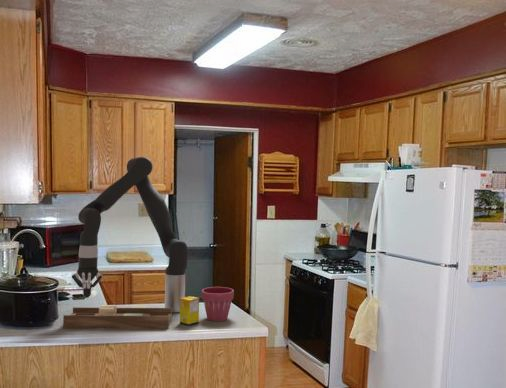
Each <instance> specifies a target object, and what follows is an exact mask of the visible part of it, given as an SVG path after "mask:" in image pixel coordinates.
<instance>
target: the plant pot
mask: <svg viewBox="0 0 506 388" xmlns="http://www.w3.org/2000/svg"><path fill="white" fill-rule="evenodd" d="M234 296H235V291H234V289H233V288H230V287H225V286H224V287H223V286H210V287H205V288H202V290H201V300H203V304H204V309H205V313H206V318H207V320H209V321H211V322H222V321H227V319H228V316H229V313H230V309H231V306H232V300H234V298H235V297H234Z"/></svg>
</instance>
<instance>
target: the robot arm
mask: <svg viewBox="0 0 506 388" xmlns="http://www.w3.org/2000/svg"><path fill="white" fill-rule="evenodd" d="M126 171H127V172H126V173H125V174H124V175H122V176H121V177H120V178H119V179H118V180H116V181H115V182H113V183H112V184H110V185H109V186H108V187H107V188H105V190H103V192H101V193H100V194H99V195H98V196H97V197H96V198H95V199H94V200H92V201H91V202H89V203H88V204H86V205H85V206H84V207H83V208H82V209H81V210H80V211H79V213H78V220H79V222H80V223H81V224H83V230H82V231H81V232H80V235H79V249H78V268H77V271H76V272H75V273H74V274H72V275H71V278H72V279H73V281H74V282H75V284H77V286H78V287H79V288H82V289H83V290H82V295H83V297H84V298H86V299H88V298H89V297H90V296H91V295H92V288H94V287H96V286H97V285H98V283H99V282H100V281H101V280H102V279H103V277H104V275H103V274H101V273H100V272H99V269H98V261H99V260H98V259H99V257H98V256H99V254H98V253H99V248H98V242H99V241H98V238H99V237H98V235H99V232H100V229H101V223H102V216H101V214H102V213H104V212H107V211H109V210H110V209H111V208H112V207H113V206H114V205H115V204H116V203H117V202H118V201H119V200H120V199H121V198H122V197H123V196H124V195H126V193H127V192H128V191H130V190H131V189H132V188H133V187H135V188H136V190H137V191H138V194H139V196H140V198H141V201H142V202H143V205H144V208H145V211H146V212H147V215H148V217H149V219H150V220H151V221H150V222H152V225H153V228H154V229H155V232H156V233H157V236H158V238H159V241H160V244H161V248H162V250H163V253H164V255H165V256H166V257H167V258H168V266H167V267H166V268H165V276H164V281H165V283H164V308H172V313H180V298H183V297H186V270H187V267H188V256H189V248H188V246H187V245H188V244H186V242H185V241H183V240H179V239H178V238H177V236H176V235H175V233H174V231H173V228H172V222H171V214H170V211H169V208H168V205H167V203H166V201H165V199H164V197H163V196H162V195H161V194H160V193H159V191H158V190H157V189H156V188H155V187H154V185H153V184H152V182H151V179H150V178H149V176H150V174H151V173H152V171H153V163H152V160H151V159H149V158H148V157H146V156H138V157H134V158H131V159H129V160H128V161H127V163H126ZM95 278H96V279H95ZM94 279H95V281H93V280H94Z"/></svg>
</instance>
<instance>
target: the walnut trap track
mask: <svg viewBox="0 0 506 388" xmlns="http://www.w3.org/2000/svg"><path fill="white" fill-rule="evenodd" d="M99 308H100V307H81V306H80V307H75V306H73V307H72V313H71V314H64V315H63V318H62V319H63V320H62V321H63V322H62V324H63V325H62V328H63V329H147V330H148V329H150V330H152V329H162V330H163V329H165V330H166V329H169V328H170V325H171V322H172V316H173V315H172V313H173V312H172V308H165V307H117V308H116V315H99Z"/></svg>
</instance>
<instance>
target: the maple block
mask: <svg viewBox="0 0 506 388" xmlns="http://www.w3.org/2000/svg"><path fill="white" fill-rule="evenodd" d="M98 308H99V315H116V308H118V307H117V304H116V305H115V304H104V305H103V304H102V305H100V307H98Z"/></svg>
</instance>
